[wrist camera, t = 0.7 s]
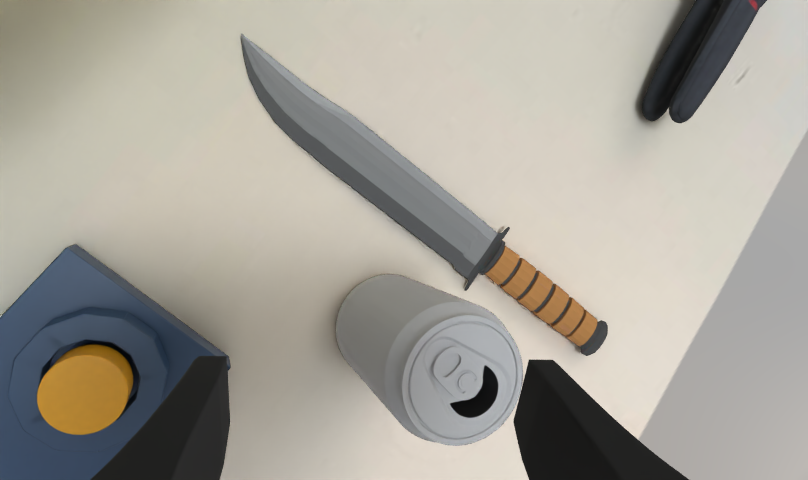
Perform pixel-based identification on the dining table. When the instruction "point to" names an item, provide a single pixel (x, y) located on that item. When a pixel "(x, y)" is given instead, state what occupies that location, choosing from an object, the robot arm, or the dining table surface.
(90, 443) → the button housing
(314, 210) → the dining table surface
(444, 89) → the dining table surface
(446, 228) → the knife
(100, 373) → the trigger button
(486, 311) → the beverage can
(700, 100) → the can opener
